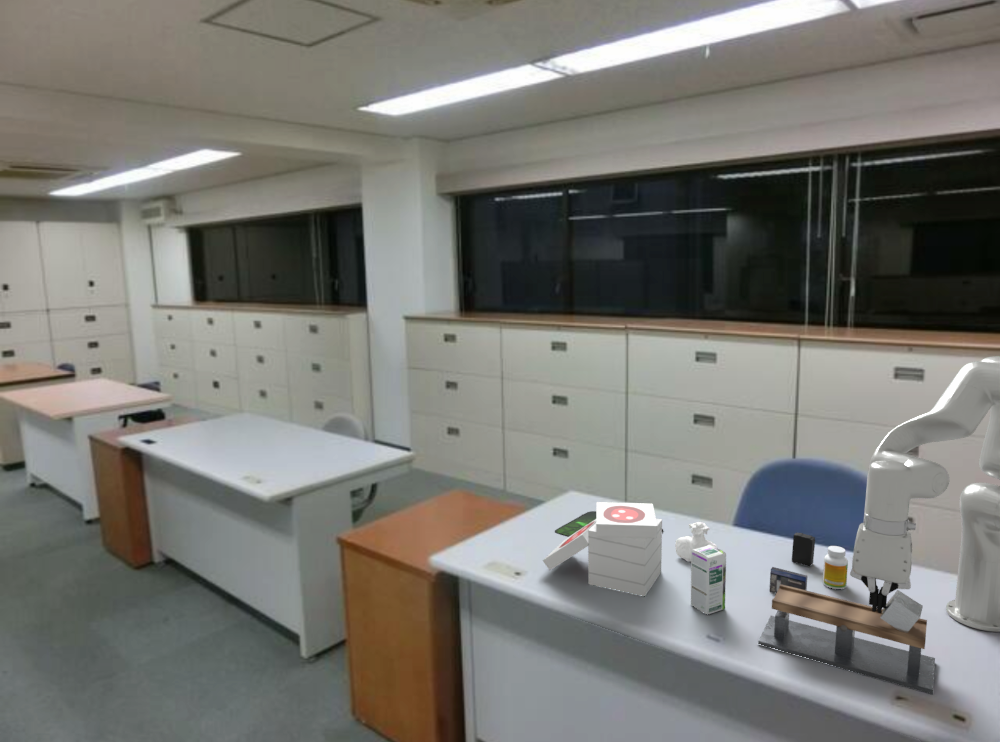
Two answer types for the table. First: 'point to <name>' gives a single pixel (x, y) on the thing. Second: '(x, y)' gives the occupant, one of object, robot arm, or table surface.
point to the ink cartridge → (803, 549)
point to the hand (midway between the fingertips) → (877, 609)
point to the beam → (845, 615)
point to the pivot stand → (850, 652)
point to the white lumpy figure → (693, 541)
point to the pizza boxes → (617, 547)
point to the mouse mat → (577, 524)
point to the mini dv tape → (786, 579)
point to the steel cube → (901, 612)
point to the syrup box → (708, 579)
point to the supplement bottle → (835, 568)
